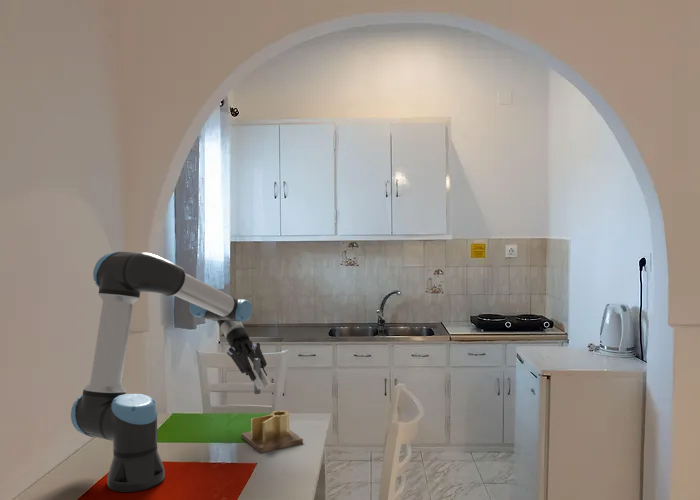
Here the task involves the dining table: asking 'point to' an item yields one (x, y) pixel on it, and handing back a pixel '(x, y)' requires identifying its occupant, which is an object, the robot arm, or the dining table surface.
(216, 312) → the robot arm
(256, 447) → the walnut board
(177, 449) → the dining table surface
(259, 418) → the brass hinge
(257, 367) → the hinge pin
